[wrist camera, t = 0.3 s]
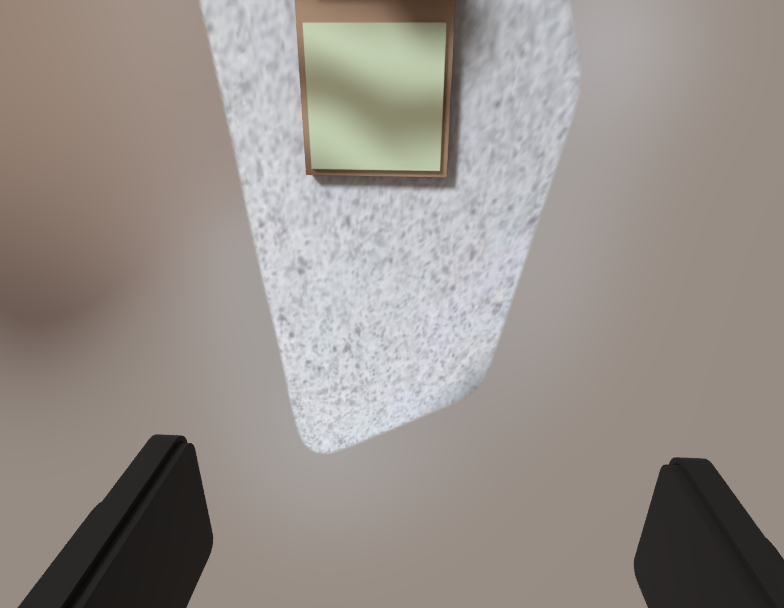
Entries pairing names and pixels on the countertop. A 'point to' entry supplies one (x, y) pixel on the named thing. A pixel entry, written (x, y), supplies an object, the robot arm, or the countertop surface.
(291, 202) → the countertop surface
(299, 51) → the board
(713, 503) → the robot arm
